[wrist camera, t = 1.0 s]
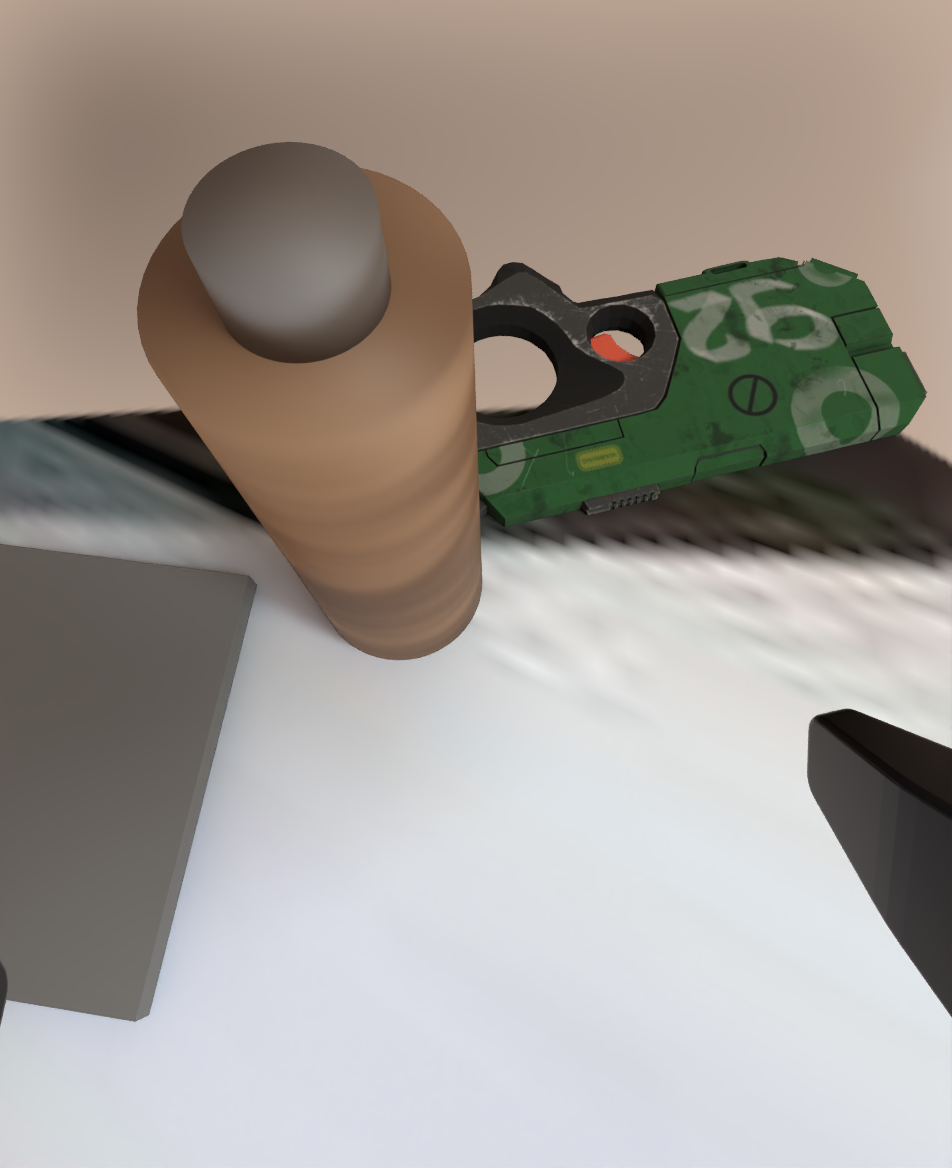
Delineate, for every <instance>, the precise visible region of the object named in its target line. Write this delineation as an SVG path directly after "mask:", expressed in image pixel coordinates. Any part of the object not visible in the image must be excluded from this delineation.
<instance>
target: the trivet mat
mask: <svg viewBox="0 0 952 1168" xmlns="http://www.w3.org/2000/svg"><path fill="white" fill-rule="evenodd" d="M256 586H257V584H256V583H255V582H254V581H253V580H252V579H251V578H250V576H245V575H238V574H230V573H222V572H214V571H206V570H198V569H191V568H183V567H175V566H167V565H159V564H152V563H144V562H136V561H128V560H120V559H112V558H105V557H97V556H89V555H81V554H73V553H65V552H58V551H50V550H42V549H34V548H26V547H18V546H11V545H3V544H0V960H1V962H2V963H3V965H4V967H5V969H6V972H7V977H8V993H7V998H6V1000H10V1001H16V1002H22V1003H28V1004H34V1005H40V1006H46V1007H52V1008H58V1009H64V1010H70V1011H76V1012H82V1013H87V1014H93V1015H99V1016H105V1017H111V1018H117V1019H123V1020H129V1021H137V1020H140V1019H142V1018H144V1017H146V1016H148V1015H149V1013H150V1009H151V1005H152V1001H153V997H154V993H155V989H156V985H157V981H158V977H159V973H160V969H161V965H162V961H163V957H164V953H165V949H166V945H167V941H168V937H169V933H170V929H171V925H172V921H173V917H174V913H175V909H176V905H177V901H178V897H179V893H180V889H181V885H182V881H183V877H184V873H185V869H186V865H187V861H188V857H189V853H190V849H191V845H192V841H193V837H194V833H195V829H196V825H197V821H198V817H199V813H200V809H201V805H202V801H203V797H204V793H205V789H206V785H207V781H208V777H209V773H210V769H211V765H212V761H213V757H214V753H215V750H216V746H217V742H218V738H219V734H220V730H221V726H222V722H223V718H224V714H225V710H226V706H227V702H228V698H229V694H230V690H231V686H232V682H233V678H234V674H235V670H236V666H237V662H238V658H239V654H240V650H241V646H242V642H243V638H244V634H245V630H246V626H247V622H248V618H249V614H250V610H251V606H252V602H253V598H254V594H255V590H256Z"/></svg>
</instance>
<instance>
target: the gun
mask: <svg viewBox="0 0 952 1168" xmlns="http://www.w3.org/2000/svg"><path fill="white" fill-rule="evenodd" d="M804 262H805V261H804ZM804 262H803V263H802V265H798V261H794V260H789V259H785V258H780V257H778V258H772V259H766V260H760V261H755V262H748V261H739V262H734V263H731V264H726V265H722V266H718V267H713V268H710V269H706V270H704V271H703V272H702V274H701V275H696V276H692V277H688V278H683V279H678V280H674V281H669V282H665V283H660V284H657V285H656V288H655V292H654V291H653V290H650V291H644V292H637V293H632V294H627V295H622V296H618V297H610V298H604V299H598V300H592V301H587V302H581V303H576V302H573V301H572V300H570V299H569V298H568V297H567V296H565V295H564V294H563V293H562V291H561V288H560V286H559V285H557V284H555V283H553V282H552V281H550V280H548V279H547V278H545V277H544V276H542V275H541V274H539V273H538V272H536V271H535V270H533V269H531V268H530V267H528V266H526V265H525V264H523V263H516V262H512V263H508V264H504V265H503V266H502V267H501V268H500V269H499V270H498V272H497V274H496V276H495V278H494V280H493V282H492V284H491V286H490V287H489V288H488V289H487V290H486V291H485V292H484V293H482V294H481V295H480V296H479V297H477V298H474V299H472V309H473V337H474V343H475V342H477V341H479V340H482V339H485V338H489V337H495V336H511V337H516V338H521V339H523V340H526V341H529V342H530V343H532V344H533V345H535V346H536V347H538V348H539V349H541V350H542V351H543V352H545V354H546V355H547V357H548V358H549V360H550V361H551V363H552V364H553V367H554V370H555V373H556V377H557V382H556V386H555V388H554V390H553V391H552V393H551V395H550V396H549V397H548V398H547V400H546V401H545V402H544V403H542V404H541V405H540V406H539V407H537V408H536V409H534V410H532V411H530V412H528V413H526V414H523V415H519V416H515V417H508V418H498V417H491V416H486V415H483V414H480V413H478V412H476V422H477V450H478V478H479V507H480V517H482V516H483V515H485V514H486V513H488V514H489V515H490V516H492V517H493V518H494V519H495V520H497V521H498V522H499V523H500V524H502V525H503V526H504V527H507V526H512V525H516V524H520V523H524V522H529V521H533V520H537V519H541V518H545V517H550V516H554V515H558V514H562V513H567V512H571V511H575V510H579V509H581V508H582V509H583V510H584V512H585V513H586V514H587V515H592V514H596V513H600V512H604V511H608V510H610V508H614V509H617V508H618V506H621V507H625V505H632V504H633V503H636V504H638V503H640V501H644V502H646V501H648V499H651V500H655V499H657V498H658V496H657V494H659V493H660V491H659V490H664V489H668V488H672V487H676V486H680V485H685V484H689V483H690V482H693V481H697V480H701V479H705V478H709V477H714V476H718V475H722V474H726V473H731V472H735V471H739V470H743V469H747V468H752V467H756V466H759V464H760V466H765V465H769V464H773V463H778V462H782V461H786V460H790V459H794V458H799V457H803V456H807V455H811V454H816V453H820V452H824V451H828V450H832V449H837V448H841V447H845V446H849V445H854V444H858V443H862V442H866V441H870V439H871V440H875V439H879V438H883V437H887V436H892V435H896V434H900V433H901V431H902V430H903V429H904V428H905V427H906V426H907V425H908V424H909V423H910V422H911V420H912V418H913V417H914V415H915V414H916V412H917V410H918V409H919V407H920V406H921V404H922V402H923V401H924V399H925V398H926V395H925V394H926V393H927V392H926V390H925V388H924V386H923V384H922V382H921V380H920V379H919V377H918V375H917V373H916V371H915V369H914V367H913V365H912V364H911V362H910V360H909V358H908V356H907V354H906V352H902V350H901V349H900V347H893V346H892V344H891V341H892V336H893V333H892V332H891V330H890V328H889V326H888V324H887V323H886V321H885V318H884V317H883V315H882V313H881V311H880V309H879V308H876V307H877V306H878V305H877V304H876V302H875V300H874V298H873V296H872V294H871V292H870V291H869V289H868V287H867V285H866V284H865V282H864V281H862V280H859V279H856V278H857V276H858V274H856V273H853V272H850V271H848V270H845V269H842V268H839V267H836V266H833V265H831V264H828V263H825V262H822V261H820V260H817V259H814V258H812V259H811V261H810V262H808V261H806V262H805V264H804ZM617 330H618V331H621V332H625V333H629V334H631V335H632V336H634V337H635V338H636V339H638V340H639V341H640V342H641V343H642V345H643V349H644V353H643V354H642V355H641V356H640V357H637V356H634V355H632V354H629V353H628V352H626V351H625V350H623V349H622V348H620V347H619V346H618V345H616V343H615V341H614V340H613V339H612V337H611V335H608V334H602V335H599V336H596V337H594V336H595V335H596V334H599V333H601V332H604V331H617Z"/></svg>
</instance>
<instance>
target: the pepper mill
mask: <svg viewBox="0 0 952 1168" xmlns="http://www.w3.org/2000/svg"><path fill="white" fill-rule="evenodd" d="M137 315H138V329H139V334H140V338H141V343H142V346H143V349H144V351H145V354H146V356H147V359H148V361H149V363H150V365H151V366H152V368H153V370H154V371H155V373H156V375H157V376H158V378H159V379H160V380H161V382H162V383H163V385H164V386H165V388H166V389H167V391H168V392H169V393H170V395H171V396H172V398H173V399H174V400H175V402H176V403H177V405H178V406H179V408H180V409H181V410H182V412H183V413H184V415H185V416H186V417H187V419H188V420H189V422H190V423H191V425H192V426H193V427H194V429H195V430H196V432H197V433H198V434H199V436H200V437H201V439H202V440H203V442H204V443H205V444H206V446H207V447H208V449H209V450H210V451H211V453H212V454H213V456H214V457H215V459H216V460H217V461H218V463H219V464H220V466H221V467H222V469H223V470H224V471H225V473H226V474H227V476H228V477H229V478H230V480H231V481H232V483H233V484H234V486H235V487H236V488H237V490H238V491H239V493H240V494H241V495H242V497H243V498H244V500H245V501H246V503H247V504H248V505H249V507H250V508H251V510H252V511H253V512H254V514H255V515H256V517H257V518H258V520H259V521H260V522H261V524H262V525H263V527H264V528H265V529H266V531H267V532H268V534H269V535H270V537H271V538H272V539H273V541H274V542H275V544H276V545H277V546H278V548H279V549H280V551H281V552H282V554H283V555H284V556H285V558H286V559H287V561H288V562H289V563H290V565H291V566H292V568H293V569H294V571H295V572H296V573H297V575H298V576H299V578H300V579H301V580H302V582H303V583H304V585H305V586H306V588H307V589H308V590H309V592H310V593H311V595H312V596H313V598H314V599H315V600H316V602H317V603H318V605H319V606H320V607H321V609H322V610H323V612H324V613H325V615H326V616H327V617H328V619H329V620H330V622H331V623H332V624H333V626H334V627H335V629H336V630H337V631H338V632H339V633H340V635H341V636H342V637H343V638H344V639H345V640H346V641H348V642H349V643H350V644H351V645H353V646H354V647H356V648H357V649H359V650H361V651H363V652H365V653H367V654H369V655H372V656H375V657H379V658H384V659H390V660H409V659H415V658H420V657H423V656H426V655H429V654H432V653H434V652H436V651H438V650H440V649H442V648H443V647H445V646H447V645H448V644H450V643H451V642H452V641H453V640H455V639H456V638H457V637H458V636H459V635H460V634H461V633H462V632H463V631H464V630H465V628H466V627H467V625H468V624H469V623H470V621H471V620H472V618H473V616H474V614H475V612H476V609H477V607H478V604H479V601H480V596H481V591H482V563H481V535H480V507H479V478H478V450H477V422H476V395H475V368H474V367H475V365H474V337H473V309H472V284H471V271H470V267H469V262H468V258H467V254H466V252H465V249H464V247H463V245H462V242H461V239H460V238H459V236H458V234H457V232H456V231H455V229H454V228H453V226H452V224H451V223H450V222H449V220H448V219H447V218H446V217H445V216H444V215H443V213H442V212H441V211H440V210H439V209H438V208H437V207H436V206H435V205H434V204H433V203H432V202H430V201H429V200H428V199H427V198H426V197H424V196H423V195H422V194H420V193H419V192H417V191H416V190H414V189H413V188H411V187H409V186H408V185H406V184H403V183H402V182H400V181H398V180H396V179H394V178H391V177H388V176H386V175H383V174H381V173H378V172H374V171H371V170H367V169H363V168H359V167H358V166H357V165H356V164H355V163H354V162H352V161H351V160H349V159H348V158H346V157H345V156H343V155H341V154H339V153H338V152H336V151H333V150H331V149H328V148H325V147H322V146H318V145H314V144H307V143H297V142H284V143H274V144H266V145H262V146H258V147H254V148H251V149H248V150H245V151H242V152H240V153H238V154H236V155H234V156H232V157H230V158H228V159H226V160H225V161H223V162H221V163H220V164H218V165H217V166H216V167H214V168H213V169H212V170H211V171H209V172H208V173H207V174H206V175H205V176H204V177H203V178H202V179H201V180H200V182H199V183H198V184H197V185H196V187H195V188H194V190H193V191H192V193H191V195H190V196H189V199H188V201H187V203H186V205H185V208H184V212H183V216H182V218H181V219H180V220H179V221H178V222H177V223H176V224H174V226H173V227H172V228H171V229H170V230H169V232H168V233H167V234H166V235H165V237H164V238H163V239H162V240H161V242H160V244H159V245H158V247H157V249H156V250H155V252H154V253H153V255H152V257H151V259H150V261H149V263H148V266H147V268H146V271H145V273H144V276H143V280H142V283H141V287H140V290H139V297H138V306H137Z"/></svg>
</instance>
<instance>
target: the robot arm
mask: <svg viewBox="0 0 952 1168" xmlns="http://www.w3.org/2000/svg"><path fill="white" fill-rule="evenodd" d="M807 777H808V783H809V786H810V789H811V792H812V794H813V796H814V798H815V800H816V802H817V804H818V805H819V807H820V809H821V811H822V813H823V814H824V816H825V818H826V820H827V821H828V823H829V825H830V827H831V828H832V830H833V832H834V834H835V836H836V837H837V839H838V841H839V843H840V844H841V846H842V848H843V850H844V851H845V853H846V855H847V857H848V859H849V860H850V862H851V864H852V866H853V867H854V869H855V871H856V873H857V874H858V876H859V878H860V880H861V882H862V883H863V885H864V887H865V889H866V890H867V892H868V894H869V896H870V897H871V899H872V901H873V903H874V904H875V906H876V908H877V909H878V911H879V913H880V914H881V916H882V918H883V919H884V921H885V923H886V924H887V926H888V927H889V929H890V930H891V932H892V933H893V935H894V936H895V938H896V939H897V941H898V942H899V943H900V945H901V946H902V948H903V949H904V951H905V952H906V953H907V955H908V956H909V958H910V959H911V961H912V962H913V963H914V965H915V966H916V968H917V969H918V970H919V972H920V973H921V975H922V976H923V977H924V979H925V980H926V982H927V983H928V985H929V986H930V987H931V989H932V990H933V992H934V993H935V994H936V996H937V997H938V999H939V1000H940V1002H941V1003H942V1004H943V1006H944V1007H945V1009H946V1010H947V1011H948V1013H949V1014H950V1016H951V1017H952V749H951V748H949V747H946V746H944V745H941V744H939V743H936V742H934V741H931V740H929V739H926V738H924V737H921V736H919V735H916V734H914V733H911V732H909V731H906V730H904V729H901V728H899V727H896V726H894V725H891V724H888V723H886V722H883V721H881V720H878V719H876V718H873V717H871V716H868V715H866V714H863V713H861V712H858V711H856V710H852V709H841V710H837V711H832V712H828V713H824V714H820V715H817V716H815V717H814V718H812V720H811V722H810V724H809V732H808V763H807ZM7 993H8V977H7V972H6V969H5V967H4V965H3V963H2V962H1V960H0V1025H1V1021H2V1016H3V1012H4V1007H5V1003H6V998H7Z"/></svg>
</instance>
